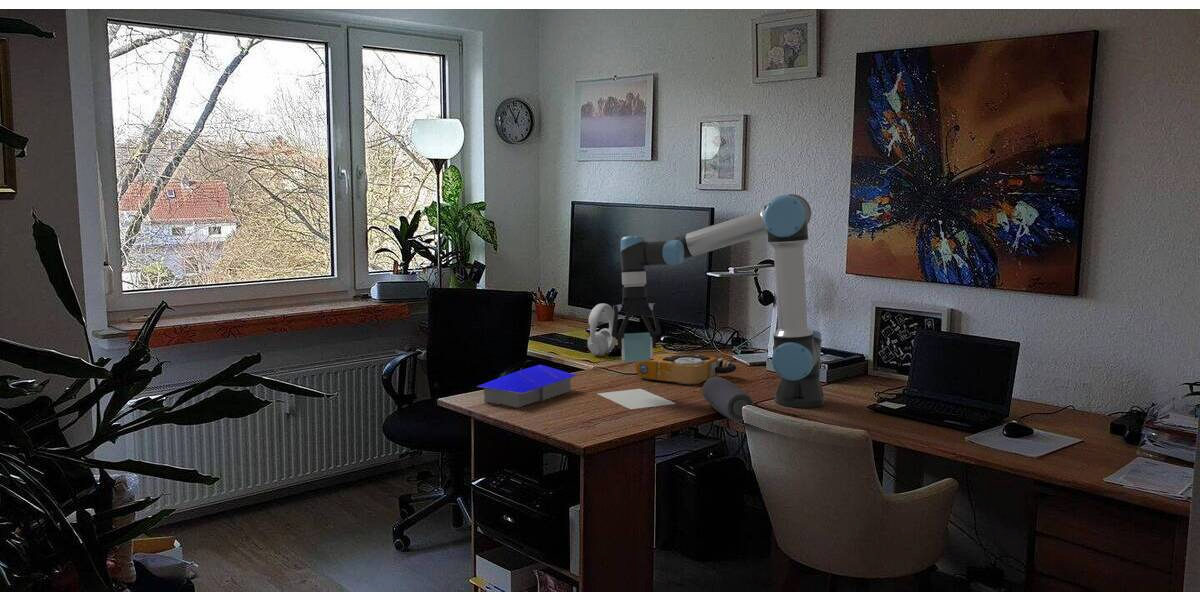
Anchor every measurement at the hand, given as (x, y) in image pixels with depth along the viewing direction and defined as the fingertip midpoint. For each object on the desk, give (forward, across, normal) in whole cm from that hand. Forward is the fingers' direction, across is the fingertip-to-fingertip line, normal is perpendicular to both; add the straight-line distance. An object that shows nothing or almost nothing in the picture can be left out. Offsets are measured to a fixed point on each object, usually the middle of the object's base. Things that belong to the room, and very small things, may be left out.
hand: (637, 359), depth 303 cm
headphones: (+4, +9, -73) cm, 74 cm away
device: (+10, -19, -32) cm, 39 cm away
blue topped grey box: (+11, +35, -7) cm, 37 cm away
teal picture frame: (0, 0, -5) cm, 5 cm away
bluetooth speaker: (+17, -24, +17) cm, 34 cm away
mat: (+13, +1, -1) cm, 13 cm away
